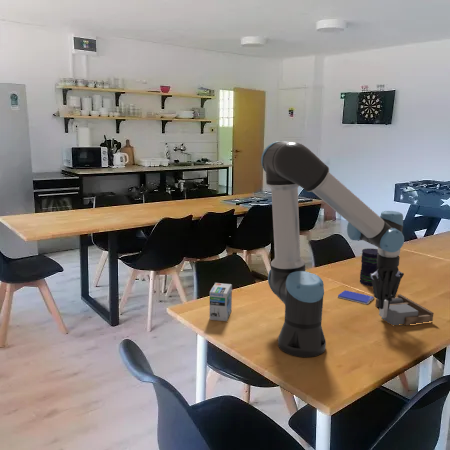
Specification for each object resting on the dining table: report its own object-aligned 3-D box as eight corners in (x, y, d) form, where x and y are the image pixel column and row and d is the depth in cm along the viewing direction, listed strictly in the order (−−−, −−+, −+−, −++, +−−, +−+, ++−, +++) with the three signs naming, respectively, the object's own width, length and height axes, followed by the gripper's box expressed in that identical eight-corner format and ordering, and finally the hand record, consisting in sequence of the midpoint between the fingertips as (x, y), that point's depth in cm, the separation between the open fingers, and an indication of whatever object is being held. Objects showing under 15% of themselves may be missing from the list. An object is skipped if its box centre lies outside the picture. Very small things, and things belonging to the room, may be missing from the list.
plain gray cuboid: (392, 326, 163) (394, 313, 162) (381, 318, 170) (382, 306, 169) (416, 323, 166) (418, 311, 165) (404, 316, 172) (406, 303, 171)
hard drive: (374, 296, 189) (345, 289, 196) (367, 301, 183) (337, 295, 190) (373, 299, 189) (345, 293, 197) (366, 305, 183) (337, 298, 190)
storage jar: (381, 287, 202) (384, 255, 199) (358, 285, 205) (361, 253, 202) (381, 280, 211) (384, 249, 208) (359, 278, 215) (362, 247, 211)
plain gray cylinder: (385, 311, 176) (386, 301, 175) (379, 307, 180) (380, 298, 179) (403, 309, 178) (404, 300, 178) (397, 306, 182) (398, 296, 181)
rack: (405, 326, 163) (407, 315, 162) (375, 306, 181) (376, 296, 180) (432, 323, 166) (433, 312, 165) (399, 303, 184) (400, 294, 183)
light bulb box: (226, 321, 165) (227, 293, 162) (208, 320, 166) (209, 292, 164) (231, 310, 175) (232, 283, 173) (214, 308, 176) (215, 282, 174)
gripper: (378, 258, 157) (373, 322, 162) (411, 256, 161) (404, 318, 166) (366, 252, 164) (361, 314, 170) (397, 250, 168) (391, 310, 173)
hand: (382, 316), depth 168 cm, fingers closed
